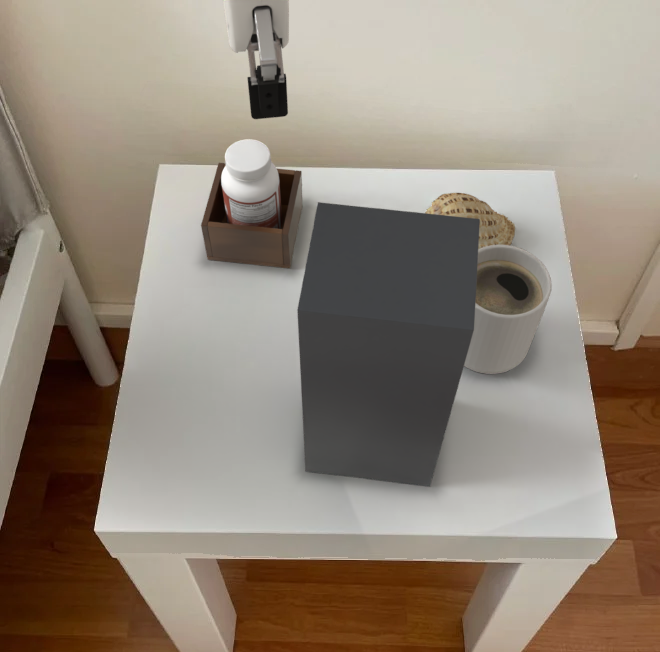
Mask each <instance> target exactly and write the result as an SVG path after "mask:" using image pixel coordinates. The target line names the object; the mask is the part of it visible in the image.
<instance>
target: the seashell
mask: <svg viewBox="0 0 660 652" xmlns="http://www.w3.org/2000/svg"><path fill="white" fill-rule="evenodd" d="M424 213H427V214H437V215H446V216H456V217H466V218H475V219H480V227H479V246H478V249H480V248H483V247H486V246H490V245H510V246H512V243H513V240H514V238H515V235H516V225H515V223H513V221H512V220H510V219H509V217H508V216H507V217H506V215H504V214H503V213H502V214H500V213H498V212H497V211H495V210H493V208H492V206H490V204H488V203H487V202H486V201H484V200H481V199H479V198H477V197H476V196H474V195H472V194H469V193H466V192H465V193H464V192H448V193H447V192H446V193H443V194H440V195H439V196H437V198H435V200H433V201H431V206H429V207H428V208H427V209H426V211H425V212H424Z"/></svg>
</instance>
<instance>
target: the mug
mask: <svg viewBox="0 0 660 652" xmlns="http://www.w3.org/2000/svg"><path fill="white" fill-rule="evenodd" d="M552 288H553V284H552V278H551V275H550V272H549V270H548V268H547V266H545V264H544V263H543V261H541V259H539V258H538V257H537V256H536V255H534V254H533V253H532V252H530V251H527V250H525V249H523V248H521V247H518V246H514V245H490V246H486V247H483V248H480V249H478V264H477V283H476V302H475V321H474V332H473V335H472V339H471V342H470V346H469V349H468V353H467V357H466V360H465V364H464V368H466V369H468V370H471V371H473V372H476V373H480V374H486V375H497V374H498V375H499V374H502V373H506V372H509V371H511V370H513V369H515V368H516V367H518V366H519V365H520V364H522V362H523V361H524V360H525V358H526V357H527V355H528V353H529V351H530V348H531V345H532V342H533V341H534V337H535V335H536V333H537V331H538V328H539V326H540V323H541V321H542V317H543V315H544V312H545V310H546V307H547V304H548V303H549V300H550V297H551V295H552V290H553V289H552Z"/></svg>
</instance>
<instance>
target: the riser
mask: <svg viewBox="0 0 660 652" xmlns="http://www.w3.org/2000/svg"><path fill="white" fill-rule="evenodd" d="M479 227H480V219H475V218H466V217H456V216H446V215H437V214H427V213H425V212H416V211H406V210H398V209H397V210H396V209H387V208H377V207H370V206H369V207H368V206H357V205H348V204H340V203H339V204H338V203H337V204H336V203H329V202H320V201H319V202H317V204H316V210H315V213H314V221H313V226H312V231H311V236H310V242H309V246H308V250H307V251H308V252H307V257H306V262H305V267H304V273H303V279H302V284H301V289H300V293H299V294H300V295H299V300H298V305H297V310H296V311H297V331H298V333H297V334H298V351H299V371H300V372H299V373H300V389H301V411H302V430H303V431H302V434H303V451H304V452H303V453H304V472H307V473H314V474H323V475H331V476H339V477H346V478H347V477H348V478H355V479H356V478H357V479H362V480H371V481H379V482H386V483H387V482H388V483H395V484H405V485H410V486H411V485H412V486H420V487H426V488H427V487H428V488H431V486H432V482H433V477H434V474H435V471H436V468H437V464H438V461H439V456H440V453H441V449H442V446H443V442H444V439H445V435H446V431H447V429H448V425H449V421H450V418H451V414H452V411H453V406H454V403H455V399H456V396H457V392H458V388H459V384H460V381H461V377H462V374H463V370H464V368H465V366H464V364H465V360H466V357H467V353H468V349H469V346H470V342H471V339H472V335H473V332H474V321H475V302H476V283H477V264H478V246H479Z"/></svg>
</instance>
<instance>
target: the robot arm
mask: <svg viewBox="0 0 660 652" xmlns="http://www.w3.org/2000/svg"><path fill="white" fill-rule="evenodd" d="M222 5H223V11H224V18H225V25H226V32H227V41H228V45H229V49H230V50H231V51H232V52H234V53H235V54H238V53H241V52H247V57H248V68H249V76H247V77H246V78H247V88H248V89H247V90H248V99H249V107H250V117H251V118H252V119H253V120H261V119H273V118H283V117H286V116H288V114H289V110H288V109H289V105H288V85H287V74H286V73H285V71H284V70H285V69H284V61H283V52H282V51H283V50H282V49H284V48H285V47H286V46H287V45H288V44H289V40H290V0H222ZM255 52H258V56H259V57H258V58H259V65H257V64H256V55H255V54H256V53H255Z"/></svg>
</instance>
